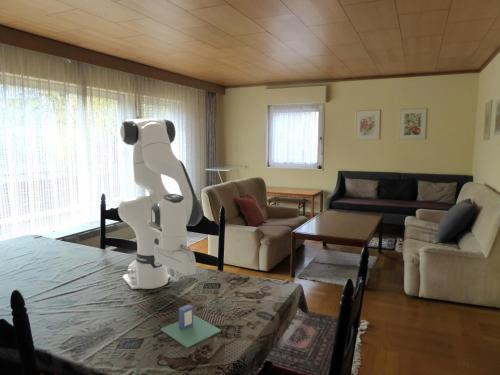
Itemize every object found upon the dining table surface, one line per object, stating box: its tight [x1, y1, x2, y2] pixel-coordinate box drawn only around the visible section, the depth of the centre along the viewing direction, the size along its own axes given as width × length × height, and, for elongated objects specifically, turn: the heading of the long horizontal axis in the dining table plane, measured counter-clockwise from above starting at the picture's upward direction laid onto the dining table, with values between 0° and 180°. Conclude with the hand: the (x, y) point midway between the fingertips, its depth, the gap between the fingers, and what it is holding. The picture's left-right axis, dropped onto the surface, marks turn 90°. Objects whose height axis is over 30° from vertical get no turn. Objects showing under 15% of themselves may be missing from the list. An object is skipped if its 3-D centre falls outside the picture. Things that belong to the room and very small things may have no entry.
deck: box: [178, 304, 194, 330], centre depth 124 cm, size 4×2×7 cm, turn 136°
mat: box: [159, 314, 222, 349], centre depth 122 cm, size 15×14×1 cm
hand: (174, 280), depth 126 cm, fingers closed
